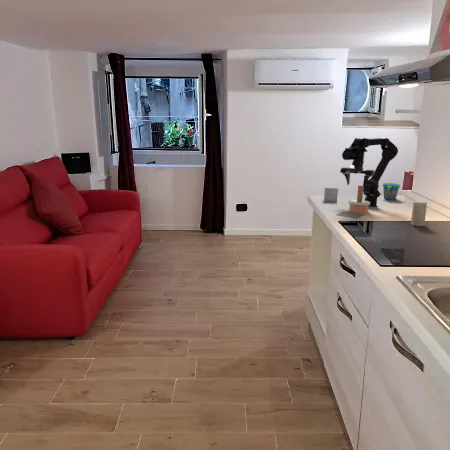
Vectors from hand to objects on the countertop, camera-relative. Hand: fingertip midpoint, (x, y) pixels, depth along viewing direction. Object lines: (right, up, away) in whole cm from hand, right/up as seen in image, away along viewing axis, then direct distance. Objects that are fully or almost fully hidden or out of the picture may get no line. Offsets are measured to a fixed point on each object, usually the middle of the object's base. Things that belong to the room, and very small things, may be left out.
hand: (355, 186), depth 259 cm
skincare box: (+21, -23, -34) cm, 47 cm away
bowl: (-1, -16, -8) cm, 18 cm away
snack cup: (+32, -6, +31) cm, 45 cm away
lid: (-1, -11, -10) cm, 14 cm away
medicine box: (-10, -8, +21) cm, 24 cm away
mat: (-9, -18, -19) cm, 27 cm away
